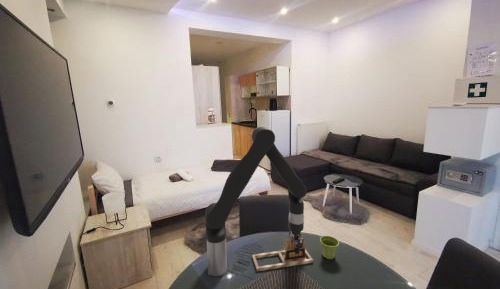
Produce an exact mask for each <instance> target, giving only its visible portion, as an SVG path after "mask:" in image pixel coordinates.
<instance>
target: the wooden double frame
mask: <svg viewBox="0 0 500 289" xmlns="http://www.w3.org/2000/svg"><path fill="white" fill-rule="evenodd" d="M251 256H252V257H251V258H252V261H253V264H254V267H255V270H256V272H260V271H261V272H262V271H267V270H274V269H281V268H285V267H286V268H288V267H292V266H299V265H307V264H312V263H314V258H312V256H311V254H309V252H308V251H307V249H306V248H305V257H303V258H296V259H290V260H286V259H285V249H284V250H276V251H269V252H262V253H255V254H252V255H251ZM273 256H278V257H279V259H280V261H281V262H280V263H274V264H266V265H260V266H259V264H258V260H257V259H262V258H267V257H273Z"/></svg>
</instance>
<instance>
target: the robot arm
mask: <svg viewBox="0 0 500 289" xmlns="http://www.w3.org/2000/svg"><path fill="white" fill-rule="evenodd" d="M251 138H252V144H251V145H250V147H249V149H248V151H247V153H246V154H245V155H244V156H243V157H242V158H241V159H240V160H239V161H238V162H236V164H235V165H234V166H233V168H232V170H231V172H229V174H228V176H227V178H226V180H225V183H224V185H223V188H222V192H221V193H220V194H221V195H220V196H219V199H218V200H217V201H216V202H212V203H210V204H209V205H207V207H206V209H205V212H204V214H205V216H204V218H205V237H206V257H207V260H206V261H207V276H212V277H220V276H223V275H224V274H225V273H226V272H228V271H227V270H228V260H227V256H228V255H227V254H228V253H227V252H228V251H227V229H226V222H227V220H228V217H229V215H230V213H231V211H232V209H233V207H234V206H235V204H236V202H237V201H238V199H239V198H240V196H241V194H242V193H243V191H244V190H245V189H246V187H247V185H248V184H249V183H250V181H251V179H252V177H253V175H254V174H255V172H256V171H257V169H258V167H259V165H260V164H261V162H262V161H263V159H264V157H265V156H266V157H267V159H268V160H269V162H270V163H271V165H272V167H273V168H274V170H275V171H276V172H277V174H278V176H279V177H280V178H281V180H282V181H283V182H284V183H285V184H286V186H287V194H288V199H289V200H288V201H289V208H288V210H289V211H288V237H289V238H290V237H291V239H292V242H293V239H294V243H295V254H299V251H300V248H302V246H303V241H304V240H303V239H302V233H301V232H302V231H304V229H305V228H304V223H305V215H304V210H305V204H304V201H303V199H304V198H305V196H307V193H308V192H307V190H308V189H307V187H306V185H305V184H304V183H303V181H302V180H301V179H300V177H299V176H298V175H297V174H296V172H295V170H294V169H293V167H292V165H291V164H290V163H289V161H288V159H287V158H286V157H284V155H283V154H282V153H281V152H280V150H279V149H278V147H277V146H276V144H275V141H276V135H275V133H274V131H273V130H271V129H270V128H267V127H265V126H258V127H256V128H255V129H253V131H252V133H251ZM296 240H297V241H296Z"/></svg>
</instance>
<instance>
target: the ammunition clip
mask: <svg viewBox="0 0 500 289" xmlns="http://www.w3.org/2000/svg"><path fill="white" fill-rule="evenodd" d="M301 239H303V240H304V241H303V246H302V248H300V251H299V254H295V243H294V239H293V242H292V239H291V237H289V238H288V237H287V238H286V239H285V249H284V250H285V254H284V255H285V259H286V260H290V259H296V258H303V257H306V255H305V249H306V248H305V247H306V241H305V235H302V237H301ZM295 241H297V240H295Z"/></svg>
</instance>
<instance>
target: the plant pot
mask: <svg viewBox="0 0 500 289" xmlns="http://www.w3.org/2000/svg"><path fill="white" fill-rule="evenodd" d="M319 242H320V244H321V254H322V257H323V258H325V259H327V260H333V259H334V258H335V256H336V251H337V248H338V246H339V245H340V242H339V240H338V239H337V238H336V237H335V236H331V235H323V236H320V238H319Z"/></svg>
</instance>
